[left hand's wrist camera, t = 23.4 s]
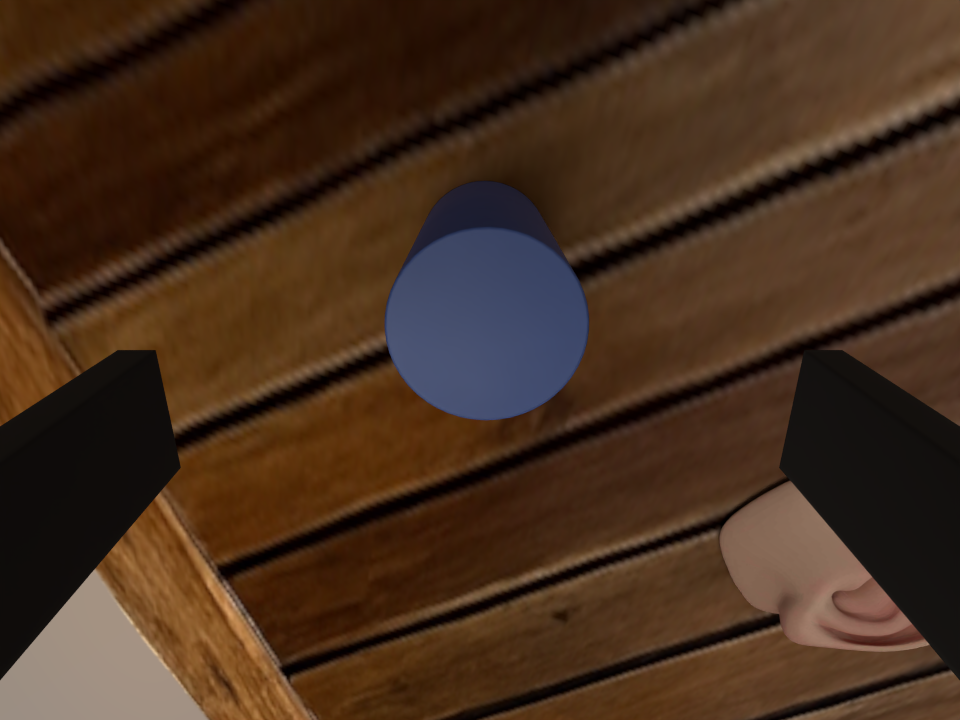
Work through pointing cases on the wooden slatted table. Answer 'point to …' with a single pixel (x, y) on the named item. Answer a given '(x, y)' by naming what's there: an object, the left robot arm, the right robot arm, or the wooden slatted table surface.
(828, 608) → the anatomical model
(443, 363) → the canister
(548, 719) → the wooden slatted table surface
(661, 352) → the wooden slatted table surface
